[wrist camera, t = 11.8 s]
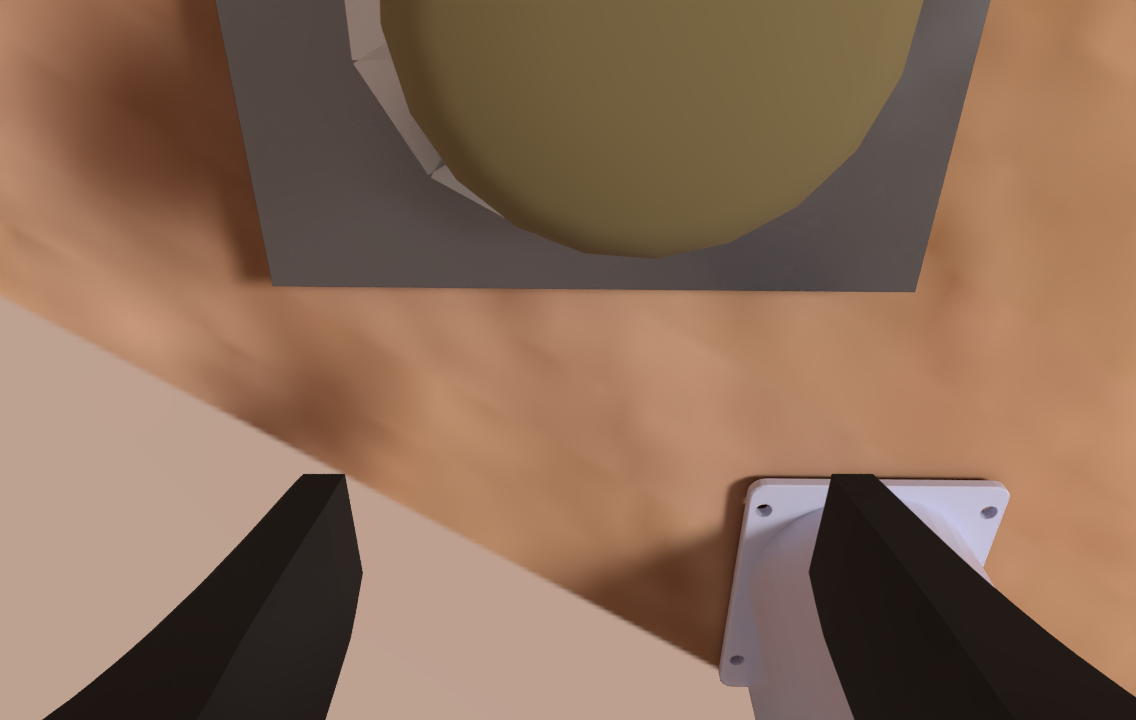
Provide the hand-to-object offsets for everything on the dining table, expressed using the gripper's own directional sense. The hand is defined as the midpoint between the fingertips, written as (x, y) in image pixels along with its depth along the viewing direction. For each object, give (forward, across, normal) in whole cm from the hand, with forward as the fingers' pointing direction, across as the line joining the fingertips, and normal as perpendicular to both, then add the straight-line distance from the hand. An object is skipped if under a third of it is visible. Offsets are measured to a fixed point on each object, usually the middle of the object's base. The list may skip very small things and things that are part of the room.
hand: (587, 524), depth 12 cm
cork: (+9, 0, -7) cm, 12 cm away
